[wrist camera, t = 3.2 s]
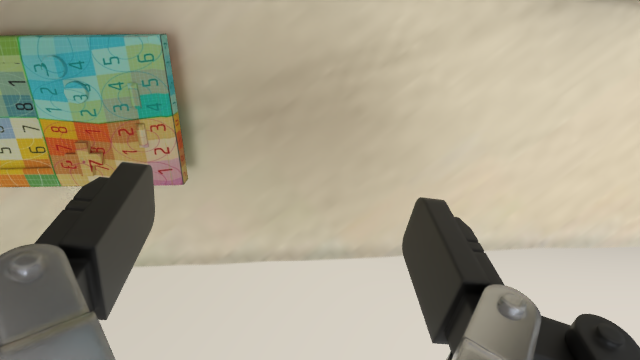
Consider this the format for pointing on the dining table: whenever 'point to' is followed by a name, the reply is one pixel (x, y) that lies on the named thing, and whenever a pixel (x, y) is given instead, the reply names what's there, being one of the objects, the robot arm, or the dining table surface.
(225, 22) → the dining table surface
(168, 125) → the puzzle game
